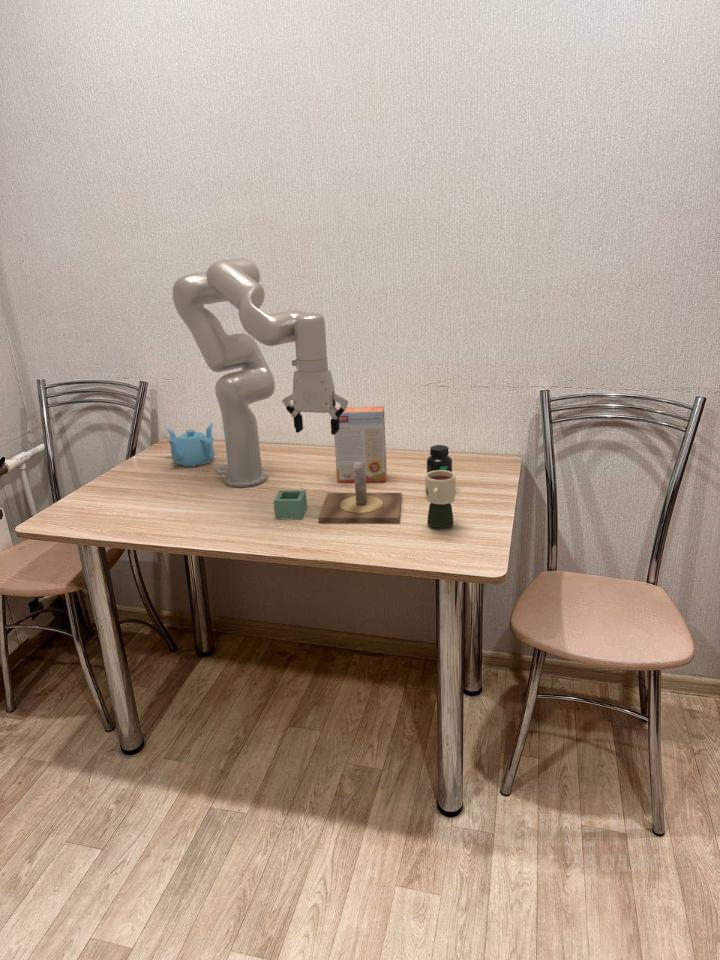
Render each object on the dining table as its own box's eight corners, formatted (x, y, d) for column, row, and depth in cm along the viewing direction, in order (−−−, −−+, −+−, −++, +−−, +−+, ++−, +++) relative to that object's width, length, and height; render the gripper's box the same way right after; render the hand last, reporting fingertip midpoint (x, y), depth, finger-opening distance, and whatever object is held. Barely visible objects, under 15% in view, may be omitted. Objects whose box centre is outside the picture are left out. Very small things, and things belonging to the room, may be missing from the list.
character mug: (432, 514, 174) (431, 466, 169) (459, 517, 171) (460, 468, 166) (420, 532, 164) (419, 481, 159) (449, 536, 162) (449, 484, 157)
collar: (275, 518, 175) (273, 500, 173) (280, 507, 182) (279, 490, 180) (302, 518, 174) (301, 500, 173) (307, 507, 181) (305, 490, 179)
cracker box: (387, 475, 201) (384, 405, 193) (385, 482, 195) (383, 411, 188) (339, 475, 202) (335, 406, 195) (336, 483, 197) (332, 411, 189)
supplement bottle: (449, 495, 185) (449, 452, 180) (424, 492, 187) (423, 450, 183) (454, 485, 191) (454, 444, 186) (430, 483, 193) (429, 442, 189)
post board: (318, 523, 172) (315, 475, 167) (327, 498, 187) (324, 453, 182) (399, 523, 170) (398, 474, 165) (401, 497, 184) (400, 452, 180)
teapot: (217, 466, 214) (214, 434, 211) (168, 471, 212) (163, 439, 208) (217, 452, 228) (213, 422, 224) (170, 456, 225) (165, 426, 221)
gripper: (273, 367, 169) (279, 434, 175) (340, 369, 164) (344, 438, 170) (286, 361, 176) (291, 426, 182) (350, 362, 170) (354, 429, 176)
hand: (317, 432), depth 176 cm, fingers open, 9 cm apart
